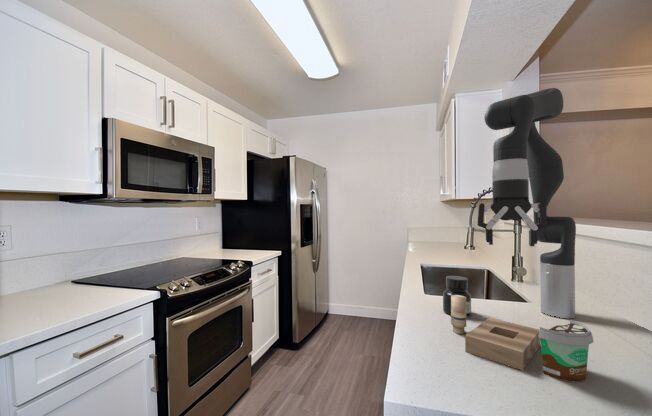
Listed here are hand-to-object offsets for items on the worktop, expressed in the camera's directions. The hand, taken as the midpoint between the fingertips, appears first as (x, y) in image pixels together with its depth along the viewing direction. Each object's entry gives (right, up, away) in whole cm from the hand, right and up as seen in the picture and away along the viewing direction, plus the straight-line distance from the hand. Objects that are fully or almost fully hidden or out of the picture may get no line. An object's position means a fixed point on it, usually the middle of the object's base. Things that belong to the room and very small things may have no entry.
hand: (510, 245), depth 71 cm
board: (0, -26, +2) cm, 27 cm away
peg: (-7, -27, +12) cm, 30 cm away
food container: (+7, -26, -10) cm, 29 cm away
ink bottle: (0, -27, +28) cm, 39 cm away
